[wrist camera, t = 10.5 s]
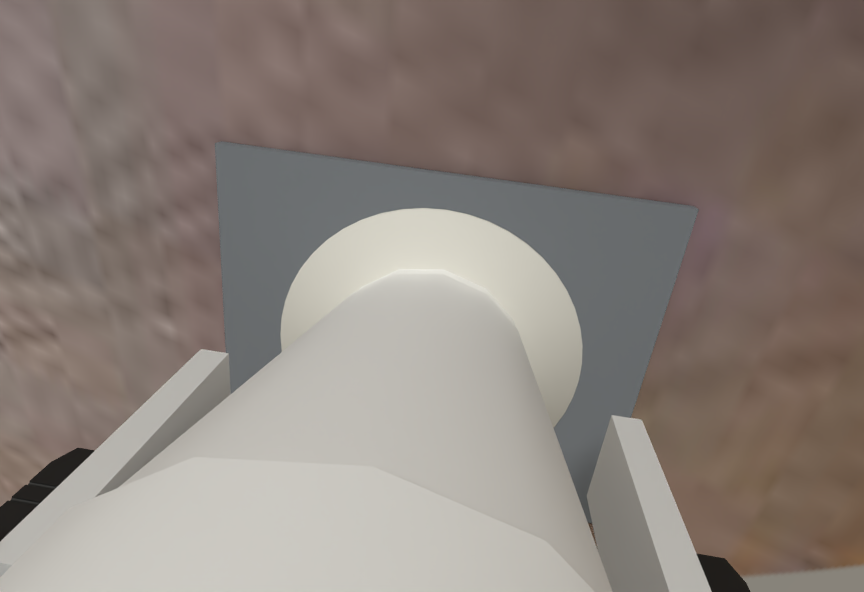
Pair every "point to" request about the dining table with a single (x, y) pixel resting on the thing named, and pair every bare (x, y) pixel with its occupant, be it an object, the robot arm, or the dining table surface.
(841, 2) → the dining table surface
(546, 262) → the mat
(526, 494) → the foam cup
